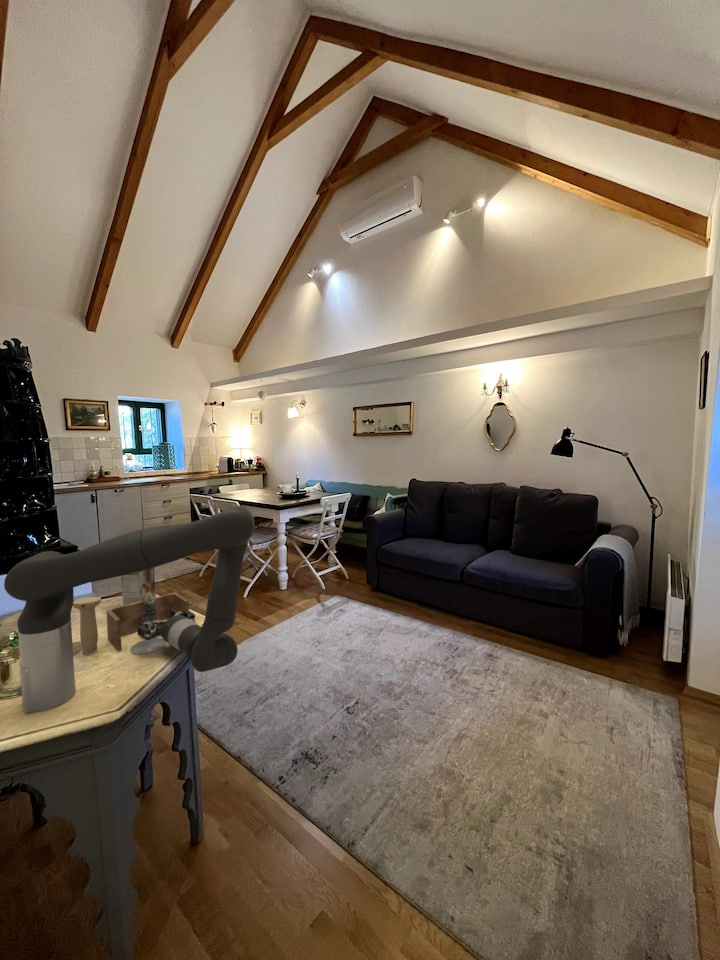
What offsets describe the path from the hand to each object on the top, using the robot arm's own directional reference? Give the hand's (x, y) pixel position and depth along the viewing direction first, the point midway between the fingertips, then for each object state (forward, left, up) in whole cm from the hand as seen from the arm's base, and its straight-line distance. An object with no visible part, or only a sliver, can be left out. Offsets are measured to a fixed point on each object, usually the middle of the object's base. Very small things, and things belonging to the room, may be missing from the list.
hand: (156, 617), depth 116 cm
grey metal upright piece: (0, +4, -7) cm, 8 cm away
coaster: (-3, -3, -7) cm, 8 cm away
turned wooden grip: (-16, +5, -7) cm, 18 cm away
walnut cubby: (0, +5, -7) cm, 9 cm away
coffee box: (+2, +23, -7) cm, 24 cm away
